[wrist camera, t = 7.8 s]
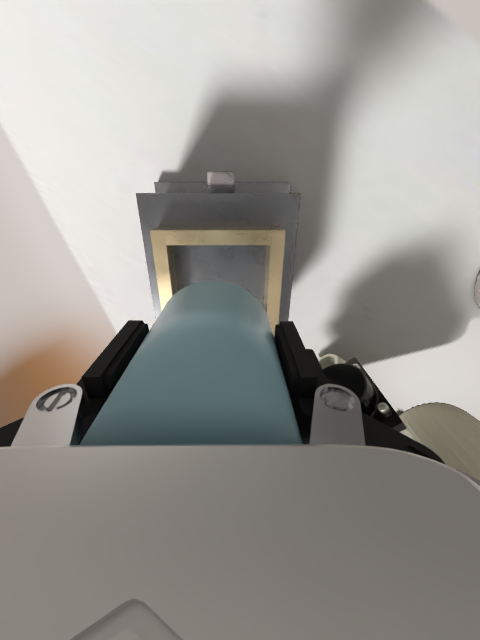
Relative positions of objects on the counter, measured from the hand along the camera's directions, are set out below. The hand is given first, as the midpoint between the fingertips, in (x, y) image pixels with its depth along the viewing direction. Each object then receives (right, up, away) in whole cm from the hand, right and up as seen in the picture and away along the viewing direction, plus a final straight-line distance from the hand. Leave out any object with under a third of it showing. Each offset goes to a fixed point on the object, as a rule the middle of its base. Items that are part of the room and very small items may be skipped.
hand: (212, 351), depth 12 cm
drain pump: (0, +1, +1) cm, 2 cm away
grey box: (-1, +9, +19) cm, 21 cm away
